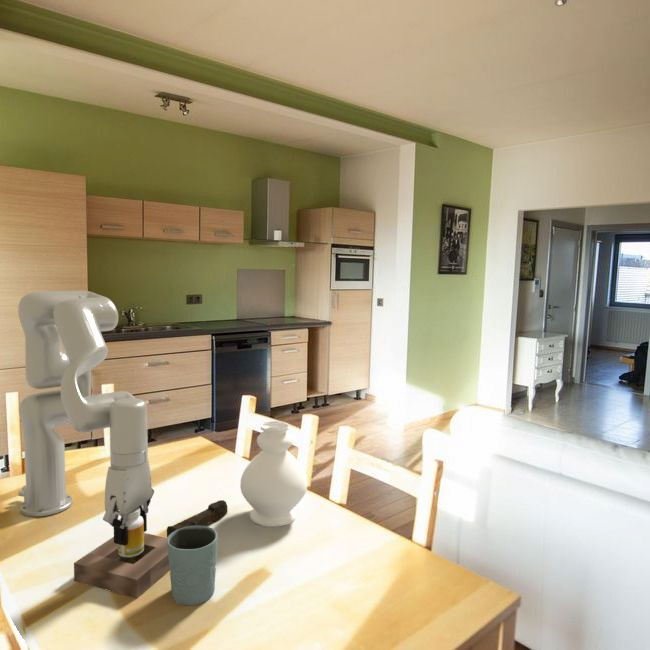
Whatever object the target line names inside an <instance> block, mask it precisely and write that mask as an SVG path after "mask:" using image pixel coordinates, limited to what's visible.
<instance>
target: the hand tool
mask: <svg viewBox="0 0 650 650" xmlns="http://www.w3.org/2000/svg"><path fill="white" fill-rule="evenodd" d="M227 514H228V504H227V501H225V500H224V499H223V500H222V499H220V500H217V501H214V502H212V503H210V504H209V505H208V507H207V509H205V510H203V511H201V512H199V513H196V514H194V515H193V516H190V517H188V518H187V519H184V520H183V521H181V522H178V523H176V524H174V525H169V526H167V527H166V538H168V536H169V535H170V534H171V533H172V532H174V531H176V530H178V529H181V528H184V527H188V526H207V525H209V524H211V523H213V524H215V523H217V522H219V521H220V520H221V519H223V518H224V517H225V516H226V515H227Z"/></svg>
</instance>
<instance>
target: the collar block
mask: <svg viewBox="0 0 650 650" xmlns="http://www.w3.org/2000/svg"><path fill="white" fill-rule="evenodd" d="M167 538H168V537H163V536H159V535H155V534H152V533H147V532H144V550H143V552H142V553H141V554H139V555H137V556H134V557H122V556H120V555H119V554H118V544H116V543H114V536H112V537H111V538H110V539H108V540H107V541H105V542H103V543H102V544H101V545H99V546H98V547H96V548H94V549H93V550H92V551H90V552H88V553H87V554H85V555H83V556H82V557H81V558H79V559H78V560H76V561H75V562H73V578H74V582H76V581H77V582H76V583H80V584H83V583H84V585H87V584H88V585H87V586H91V587H94V586H95V587H94V588H98V589H101V588H102V590H105V589H107V590H106V591H108V590H110V591H109V592H112V591H113V592H112V593H116V594H120V595H123V596H126V597H130V598H135V599H138V598H140V597H141V596H142V595H144V593H145V592H146V591H148V590H149V589H150V588H151V587H152V586H153V585H155V584H156V583H157V582H158V581H159V580H160V579H162V578H163V577H164V576H165V575H166V574H168V572H170V569H169V557H168V548H167ZM128 558H131V559H135V560H138V561H136V562H134V563H130V562H125V561H126V560H127V559H128Z"/></svg>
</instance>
